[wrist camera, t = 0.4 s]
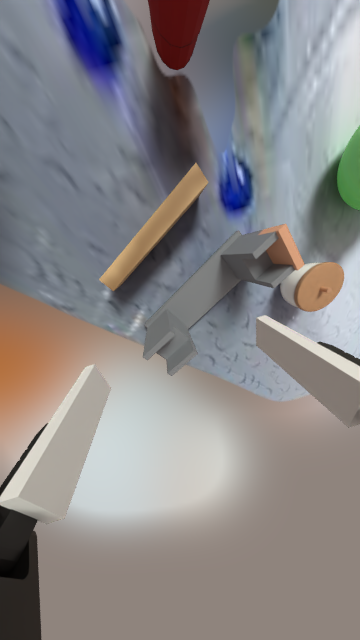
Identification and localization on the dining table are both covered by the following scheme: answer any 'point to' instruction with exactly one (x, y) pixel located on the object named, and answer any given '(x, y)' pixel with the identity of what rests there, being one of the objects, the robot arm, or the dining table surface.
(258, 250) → the stand
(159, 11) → the plastic cup
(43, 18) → the dining table surface
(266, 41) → the dining table surface
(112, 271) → the slat
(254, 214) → the dining table surface
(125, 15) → the dining table surface
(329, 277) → the lidded jar
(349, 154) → the toy bird
